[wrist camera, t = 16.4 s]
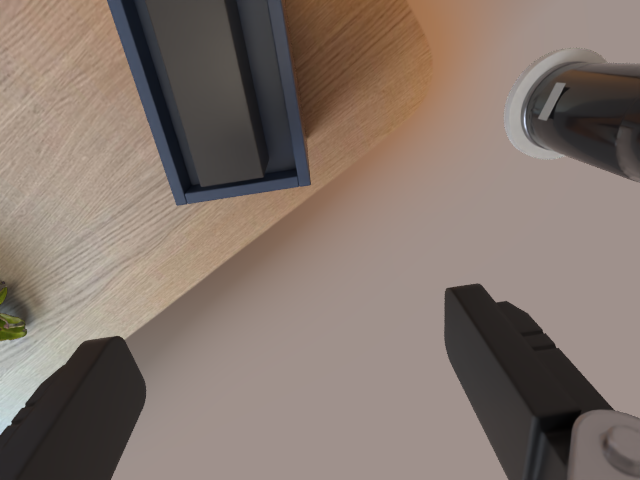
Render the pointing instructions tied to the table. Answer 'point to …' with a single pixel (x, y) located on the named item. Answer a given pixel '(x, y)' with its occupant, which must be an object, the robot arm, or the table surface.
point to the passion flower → (10, 322)
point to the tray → (270, 88)
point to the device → (212, 87)
